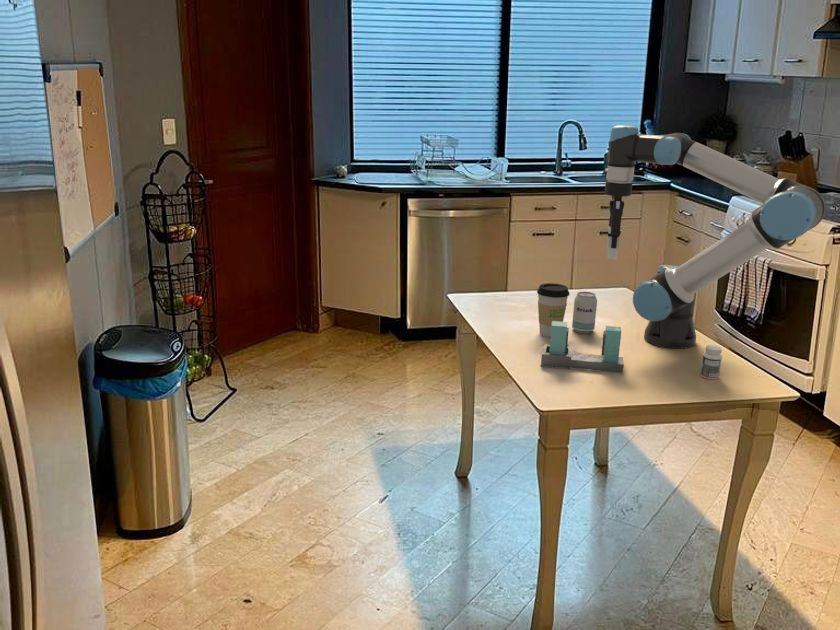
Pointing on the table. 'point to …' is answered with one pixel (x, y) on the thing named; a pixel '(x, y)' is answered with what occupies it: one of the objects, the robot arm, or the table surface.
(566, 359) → the grey and teal stand
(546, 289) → the coffee cup
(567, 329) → the block
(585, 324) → the beverage can
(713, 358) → the pill bottle
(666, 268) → the robot arm
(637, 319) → the table surface
